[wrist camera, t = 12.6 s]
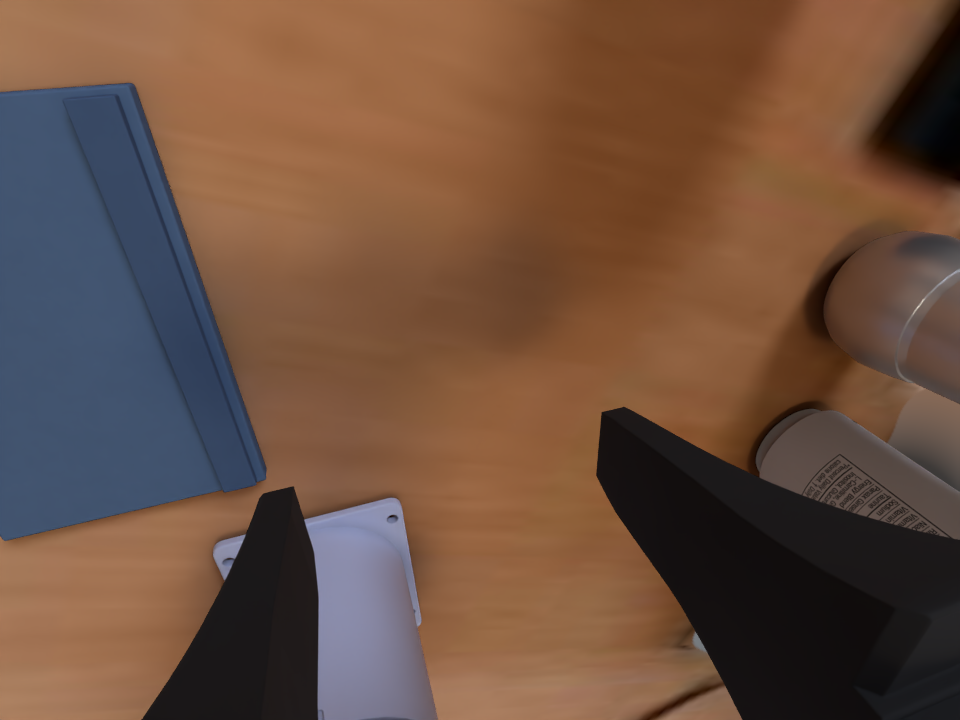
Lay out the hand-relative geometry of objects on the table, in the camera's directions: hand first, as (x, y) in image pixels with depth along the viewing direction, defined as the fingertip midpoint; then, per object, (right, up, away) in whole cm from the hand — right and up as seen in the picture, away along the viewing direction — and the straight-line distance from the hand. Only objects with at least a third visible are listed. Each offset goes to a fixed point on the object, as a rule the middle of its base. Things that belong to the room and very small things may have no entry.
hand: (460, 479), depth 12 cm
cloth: (-13, +3, +5) cm, 14 cm away
